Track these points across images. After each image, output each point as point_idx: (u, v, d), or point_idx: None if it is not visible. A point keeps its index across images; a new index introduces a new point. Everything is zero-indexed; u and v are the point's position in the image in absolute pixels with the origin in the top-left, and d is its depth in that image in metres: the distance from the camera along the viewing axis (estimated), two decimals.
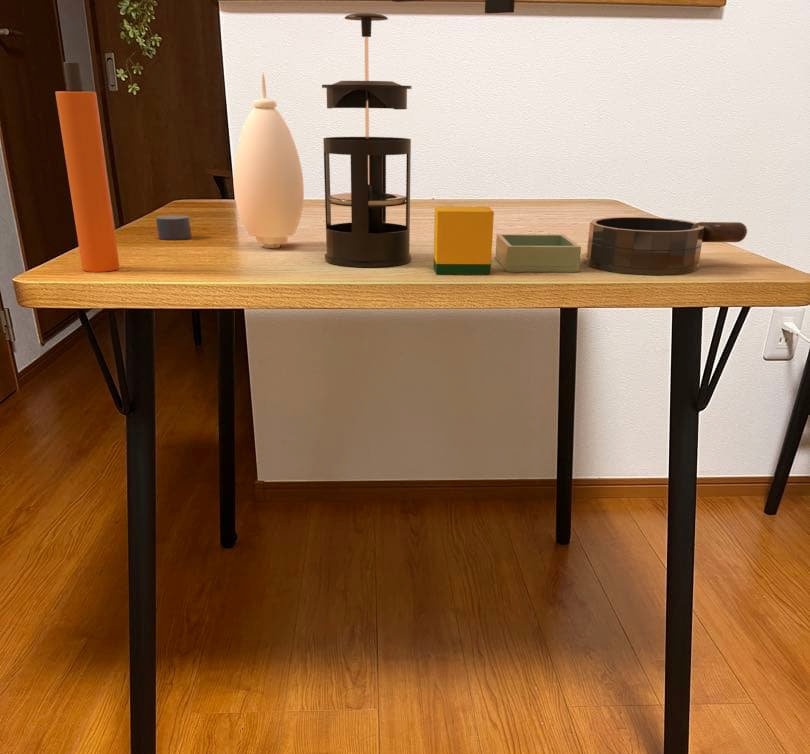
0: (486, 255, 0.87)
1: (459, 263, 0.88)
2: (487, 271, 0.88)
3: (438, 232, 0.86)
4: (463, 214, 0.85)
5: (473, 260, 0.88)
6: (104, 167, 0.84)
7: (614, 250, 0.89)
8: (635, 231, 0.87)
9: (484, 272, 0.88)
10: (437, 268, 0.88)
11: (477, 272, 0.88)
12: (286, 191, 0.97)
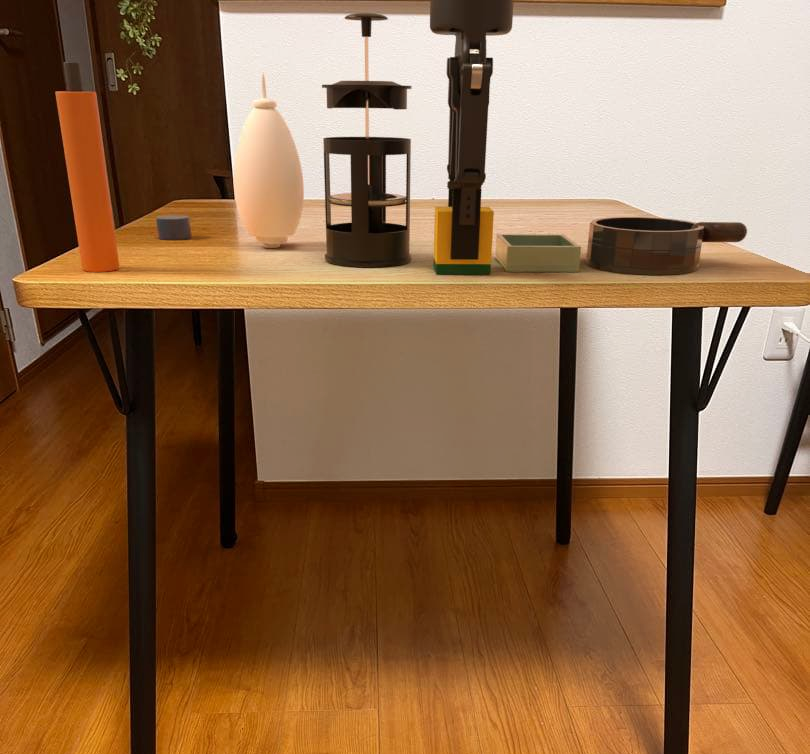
0: (486, 255, 0.87)
1: (459, 263, 0.88)
2: (487, 271, 0.88)
3: (438, 232, 0.86)
4: None
5: (473, 260, 0.88)
6: (104, 167, 0.84)
7: (614, 250, 0.89)
8: (635, 231, 0.87)
9: (484, 272, 0.88)
10: (437, 268, 0.88)
11: (477, 272, 0.88)
12: (286, 191, 0.97)
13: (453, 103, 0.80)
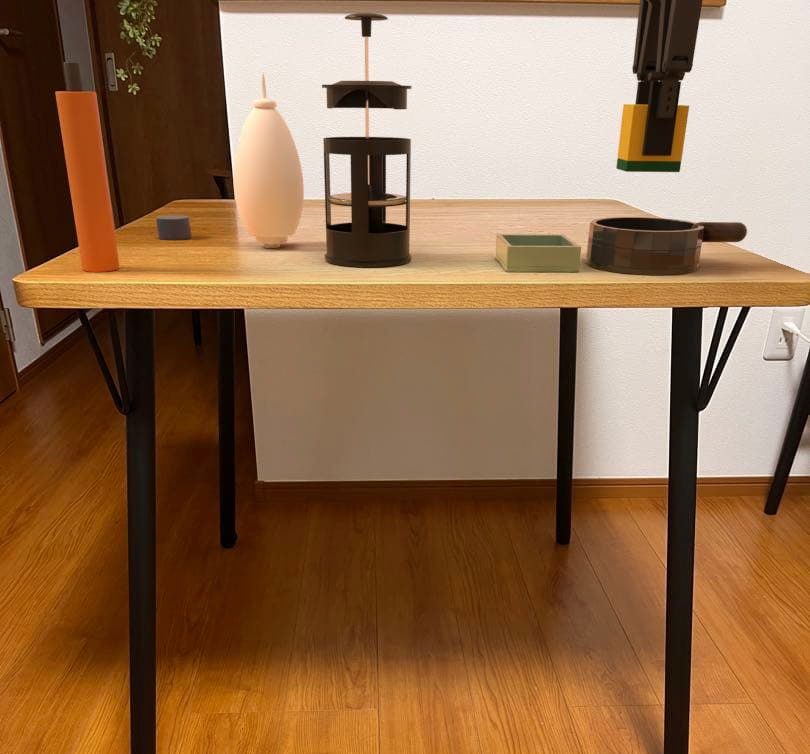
0: (678, 151, 0.87)
1: (650, 160, 0.87)
2: (677, 168, 0.88)
3: (632, 127, 0.86)
4: None
5: (664, 157, 0.87)
6: (104, 167, 0.84)
7: (614, 250, 0.89)
8: (635, 231, 0.87)
9: (674, 169, 0.88)
10: (627, 165, 0.87)
11: (667, 169, 0.88)
12: (286, 191, 0.97)
13: None
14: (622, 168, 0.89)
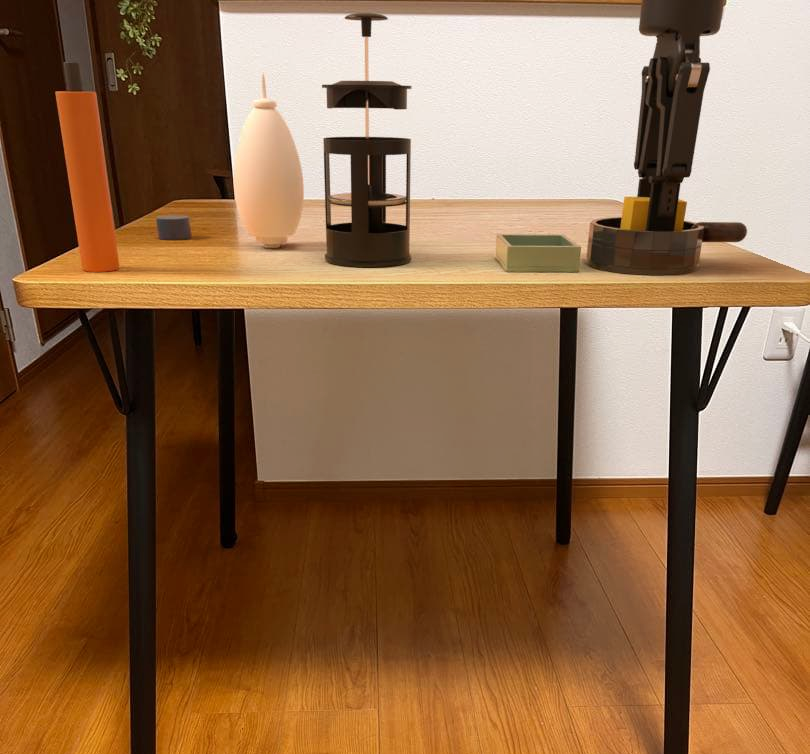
0: None
1: None
2: None
3: (632, 221, 0.90)
4: None
5: None
6: (104, 167, 0.84)
7: (614, 250, 0.89)
8: (635, 231, 0.87)
9: None
10: None
11: None
12: (286, 191, 0.97)
13: (661, 101, 0.84)
14: None
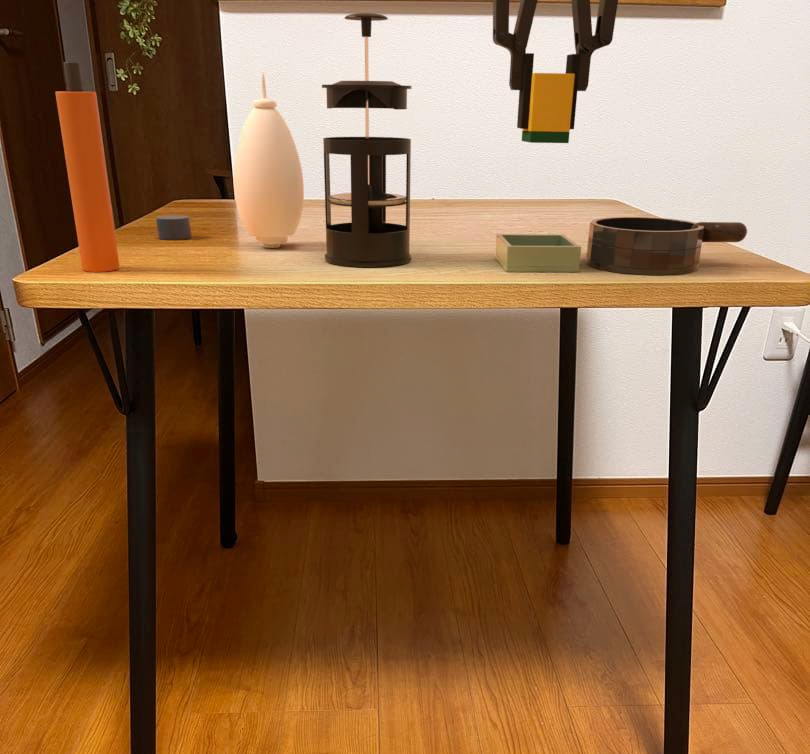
0: None
1: None
2: None
3: (572, 97, 0.84)
4: None
5: None
6: (104, 167, 0.84)
7: (614, 250, 0.89)
8: (635, 231, 0.87)
9: None
10: (568, 136, 0.85)
11: None
12: (286, 191, 0.97)
13: None
14: (554, 140, 0.85)
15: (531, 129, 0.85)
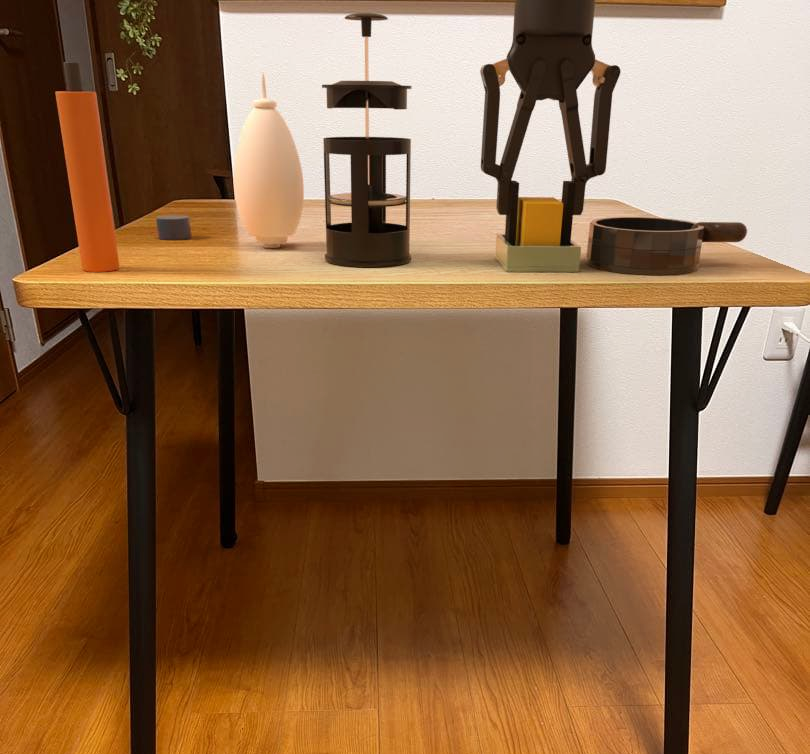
0: None
1: None
2: None
3: (561, 223, 0.89)
4: None
5: None
6: (104, 167, 0.84)
7: (614, 250, 0.89)
8: (635, 231, 0.87)
9: None
10: None
11: None
12: (286, 191, 0.97)
13: (577, 103, 0.85)
14: None
15: None
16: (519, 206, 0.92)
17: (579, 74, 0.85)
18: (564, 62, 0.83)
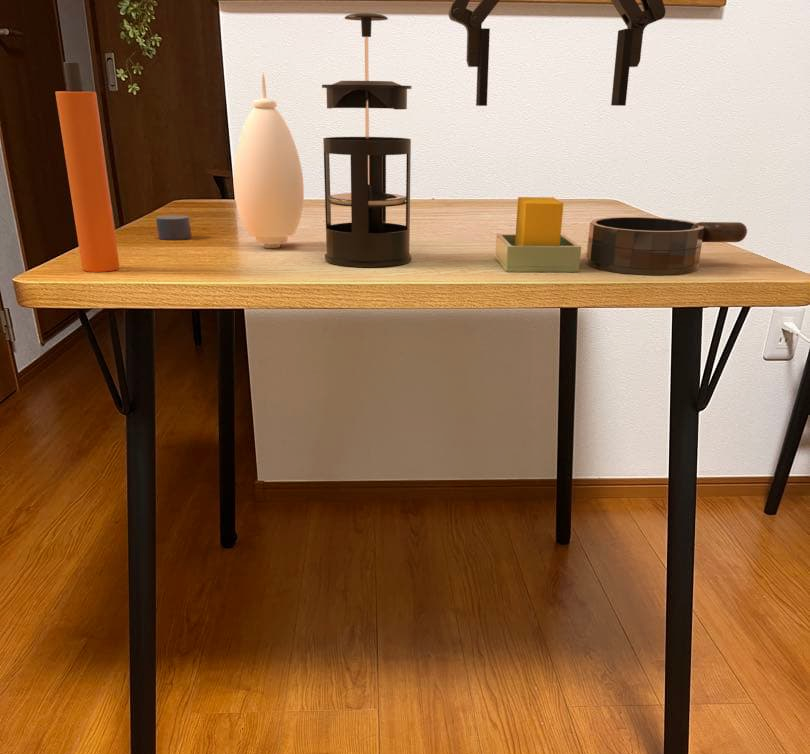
0: None
1: None
2: None
3: (561, 223, 0.89)
4: None
5: None
6: (104, 167, 0.84)
7: (614, 250, 0.89)
8: (635, 231, 0.87)
9: None
10: None
11: None
12: (286, 191, 0.97)
13: None
14: None
15: None
16: (519, 206, 0.92)
17: None
18: None
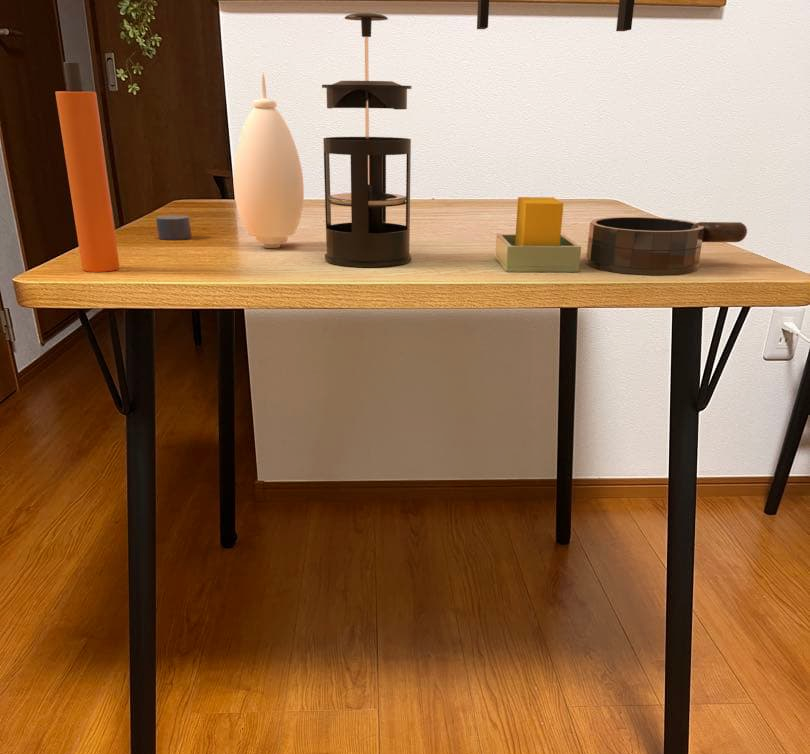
0: None
1: None
2: None
3: (561, 223, 0.89)
4: None
5: None
6: (104, 167, 0.84)
7: (614, 250, 0.89)
8: (635, 231, 0.87)
9: None
10: None
11: None
12: (286, 191, 0.97)
13: None
14: None
15: None
16: (519, 206, 0.92)
17: None
18: None
